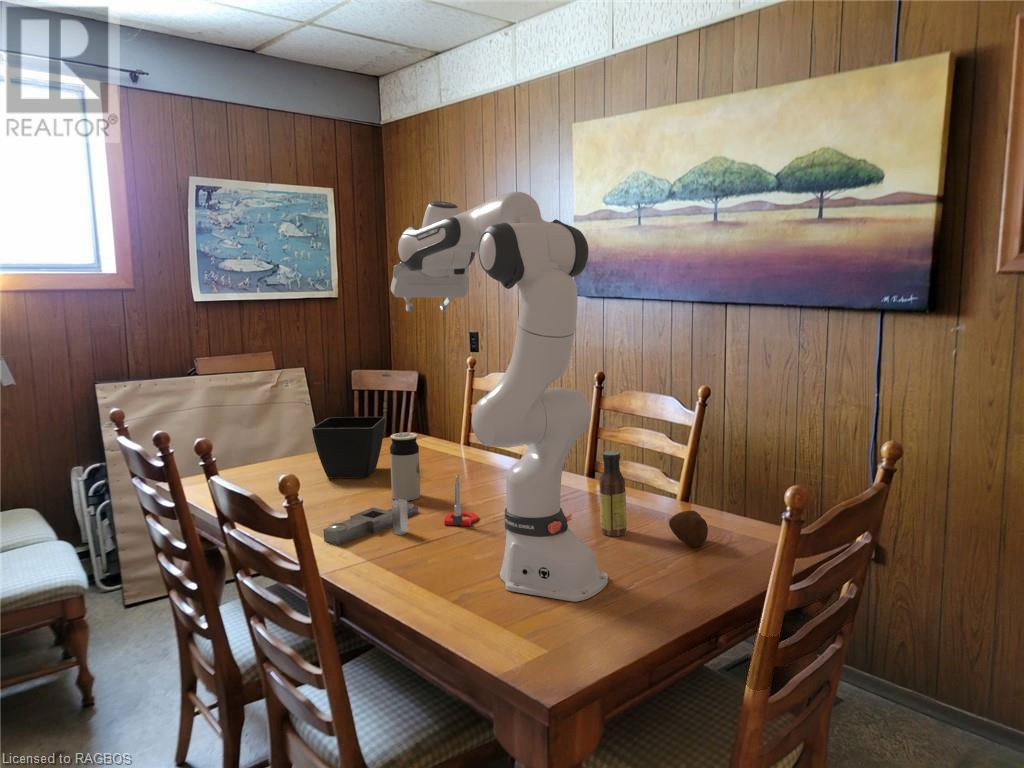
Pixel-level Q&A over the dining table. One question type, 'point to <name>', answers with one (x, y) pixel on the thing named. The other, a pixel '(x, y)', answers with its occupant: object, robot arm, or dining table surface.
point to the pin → (399, 516)
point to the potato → (689, 527)
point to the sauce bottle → (612, 496)
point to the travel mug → (405, 466)
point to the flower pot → (349, 445)
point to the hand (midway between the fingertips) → (426, 310)
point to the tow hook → (459, 511)
